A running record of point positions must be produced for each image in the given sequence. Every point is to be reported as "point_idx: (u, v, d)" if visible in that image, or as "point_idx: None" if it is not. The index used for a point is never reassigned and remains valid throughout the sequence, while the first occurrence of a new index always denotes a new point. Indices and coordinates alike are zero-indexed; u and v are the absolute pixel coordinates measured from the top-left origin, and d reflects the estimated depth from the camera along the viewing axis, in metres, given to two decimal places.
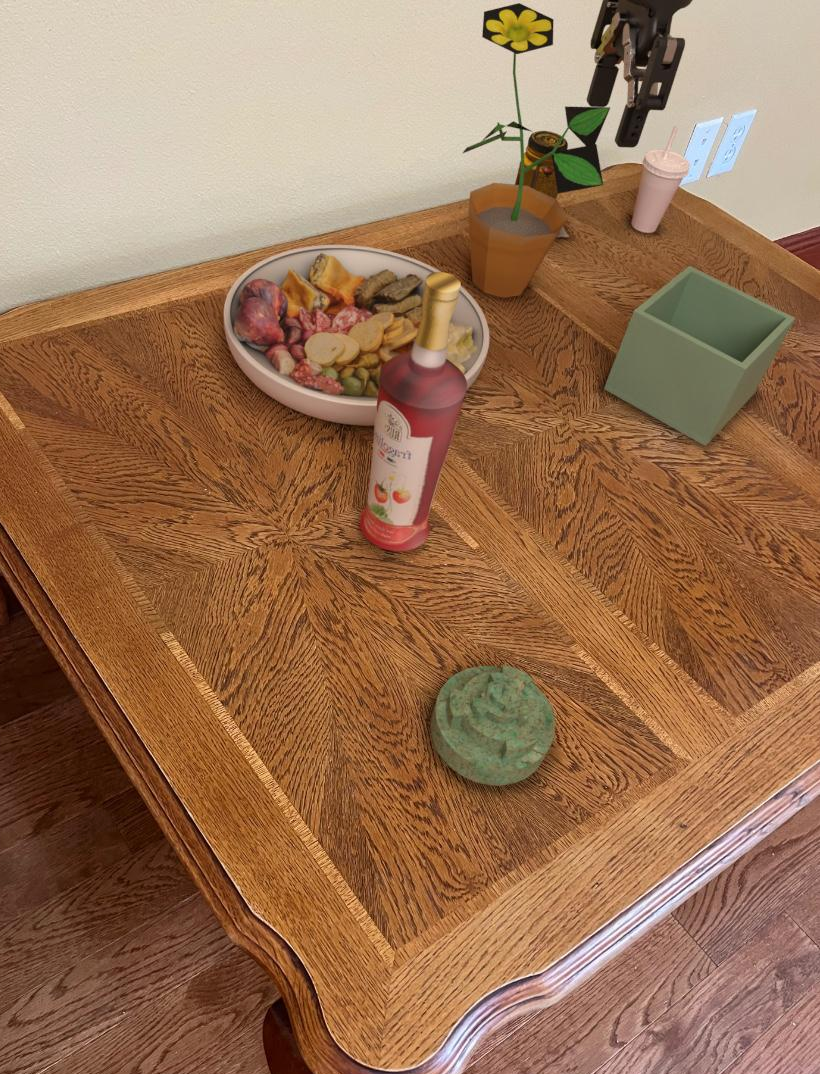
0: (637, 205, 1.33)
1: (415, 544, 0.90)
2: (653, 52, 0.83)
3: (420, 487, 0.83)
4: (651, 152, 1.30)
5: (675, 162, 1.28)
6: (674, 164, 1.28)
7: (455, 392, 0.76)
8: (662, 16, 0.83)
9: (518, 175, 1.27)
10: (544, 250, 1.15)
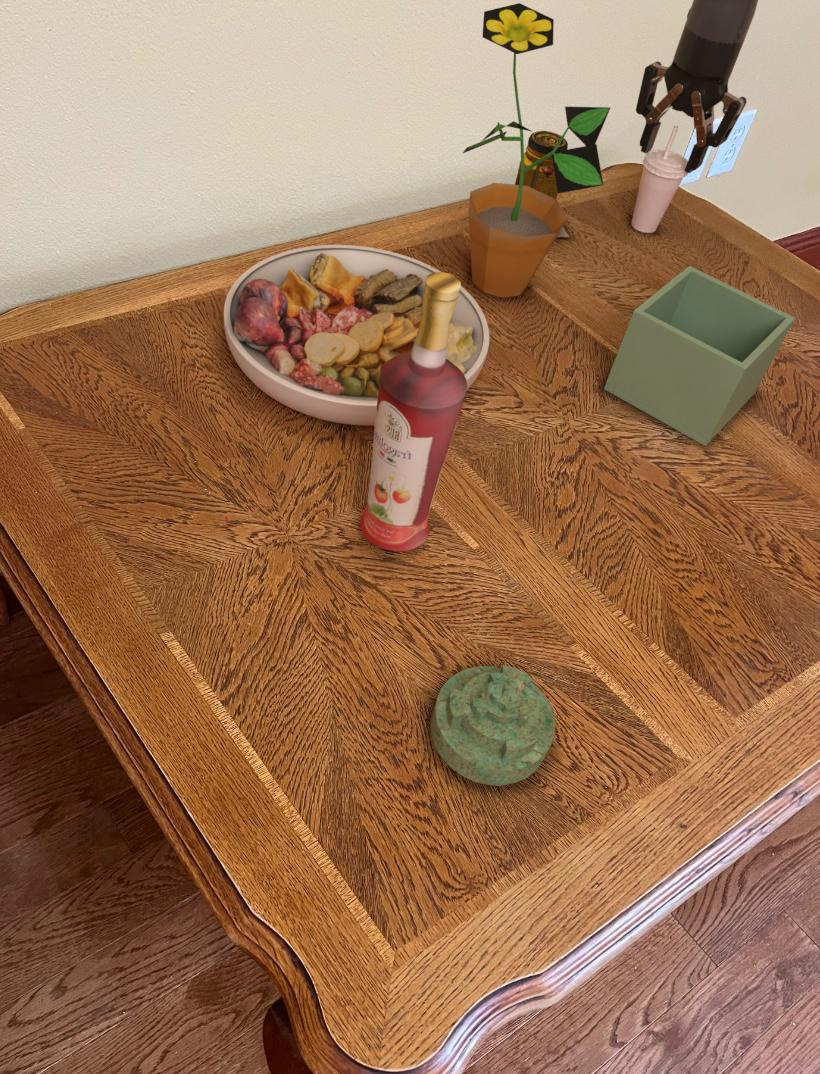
0: (637, 205, 1.33)
1: (415, 544, 0.90)
2: (730, 111, 1.19)
3: (420, 487, 0.83)
4: (651, 152, 1.30)
5: (675, 162, 1.28)
6: (674, 164, 1.28)
7: (455, 392, 0.76)
8: (726, 81, 1.18)
9: (518, 175, 1.27)
10: (544, 250, 1.15)
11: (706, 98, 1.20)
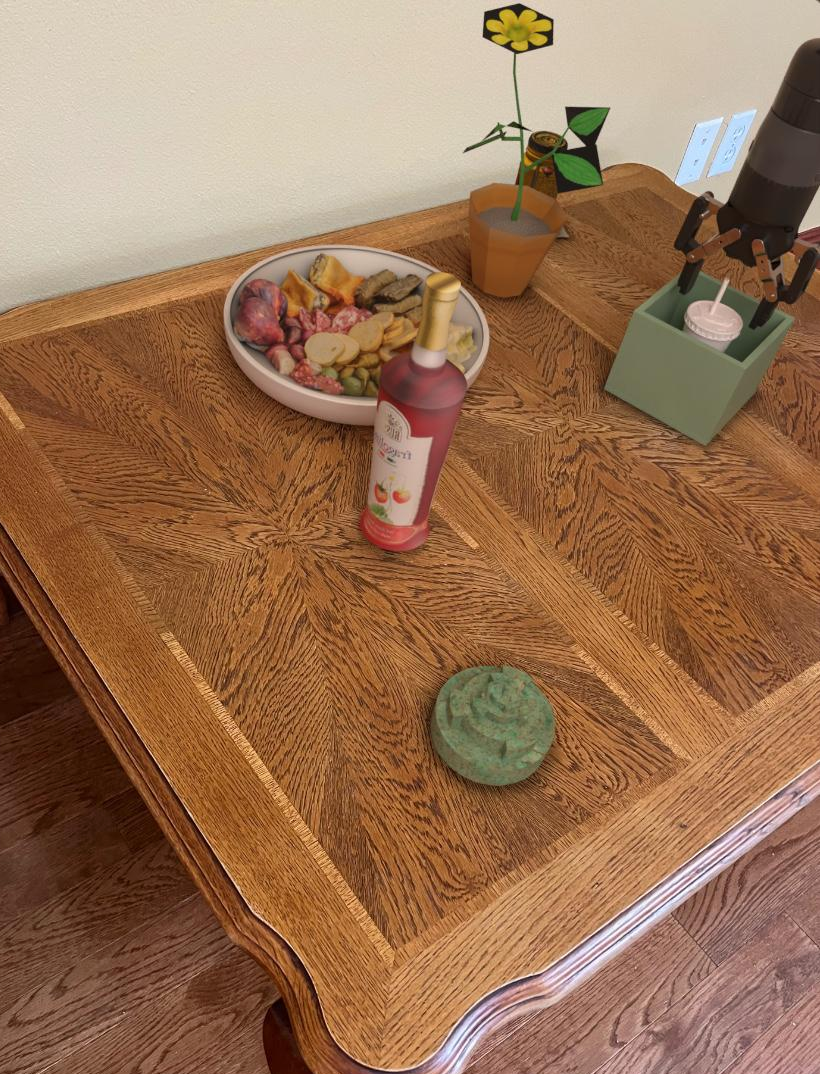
0: None
1: (415, 544, 0.90)
2: (805, 261, 0.94)
3: (420, 487, 0.83)
4: (694, 305, 1.05)
5: (725, 319, 1.04)
6: (724, 322, 1.03)
7: (455, 392, 0.76)
8: (796, 229, 0.93)
9: (518, 175, 1.27)
10: (544, 250, 1.15)
11: (771, 245, 0.95)
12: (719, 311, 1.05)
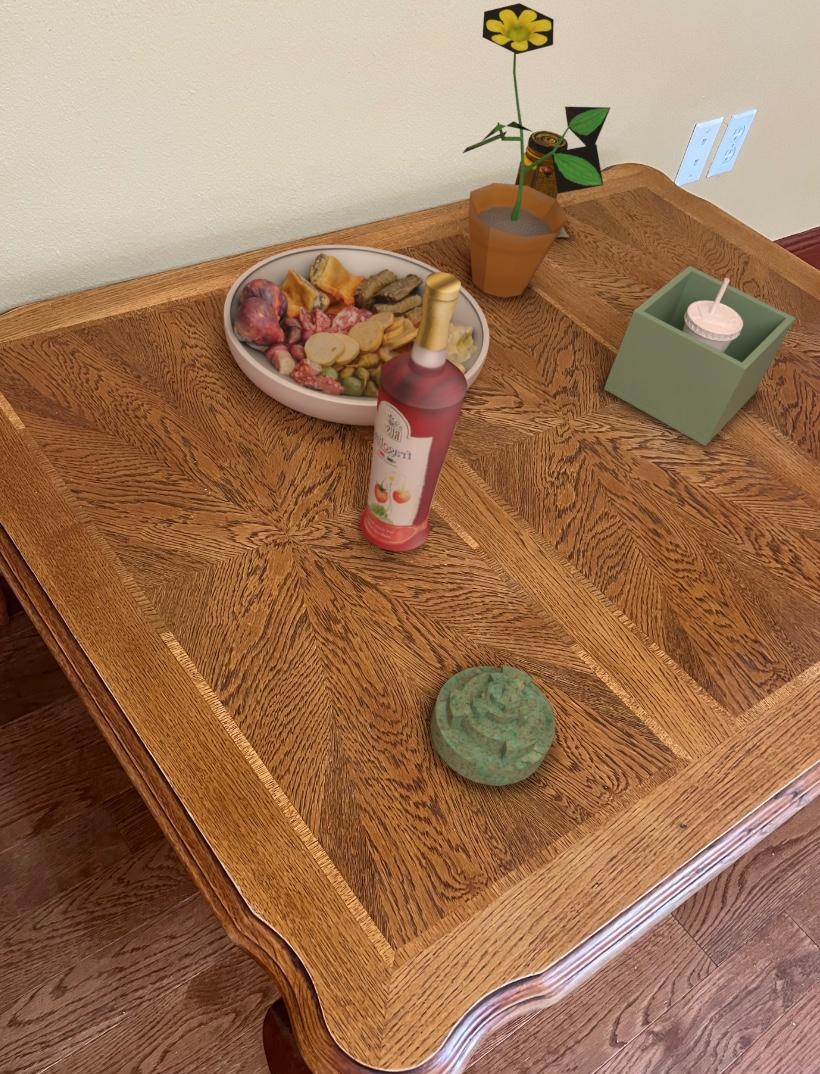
0: None
1: (415, 544, 0.90)
2: None
3: (420, 487, 0.83)
4: (694, 305, 1.05)
5: (725, 319, 1.04)
6: (724, 322, 1.03)
7: (455, 392, 0.76)
8: None
9: (518, 175, 1.27)
10: (544, 250, 1.15)
11: None
12: (719, 311, 1.05)
